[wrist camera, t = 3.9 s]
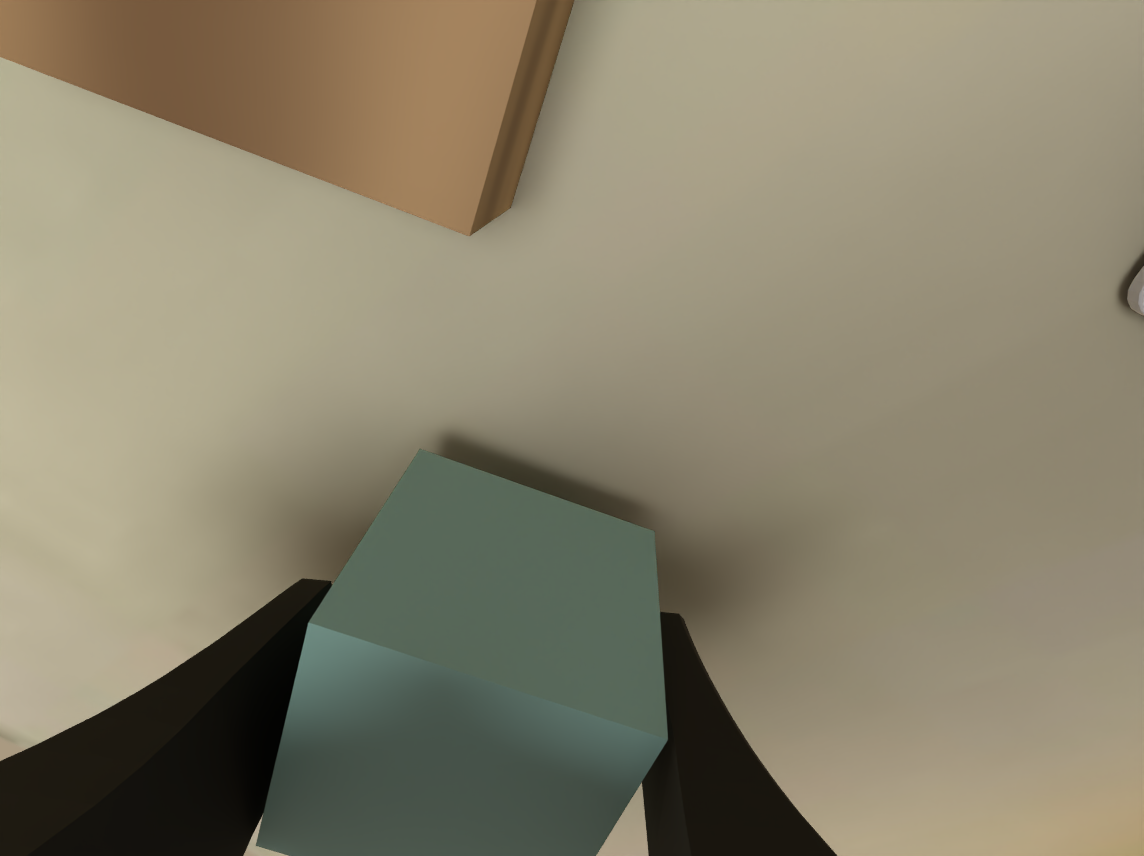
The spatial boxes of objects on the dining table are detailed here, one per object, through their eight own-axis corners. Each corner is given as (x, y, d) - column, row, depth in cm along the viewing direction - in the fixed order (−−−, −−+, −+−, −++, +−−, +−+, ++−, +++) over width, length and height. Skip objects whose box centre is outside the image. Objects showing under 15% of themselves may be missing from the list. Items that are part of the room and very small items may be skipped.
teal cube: (654, 531, 14) (667, 739, 9) (571, 696, 16) (548, 932, 11) (419, 448, 14) (308, 622, 9) (367, 629, 16) (255, 845, 11)
